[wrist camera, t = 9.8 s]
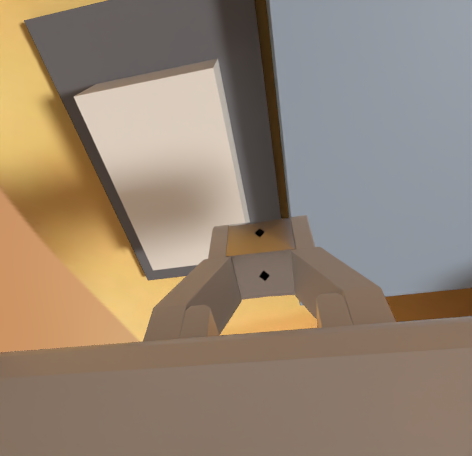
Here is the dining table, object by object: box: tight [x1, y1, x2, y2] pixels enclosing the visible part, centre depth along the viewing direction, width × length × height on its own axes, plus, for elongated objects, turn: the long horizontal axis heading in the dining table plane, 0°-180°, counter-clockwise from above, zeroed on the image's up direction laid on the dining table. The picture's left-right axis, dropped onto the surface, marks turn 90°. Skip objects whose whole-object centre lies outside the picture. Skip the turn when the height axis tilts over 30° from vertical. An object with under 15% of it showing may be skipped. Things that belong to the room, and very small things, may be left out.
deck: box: [266, 0, 472, 305], centre depth 15 cm, size 20×16×2 cm
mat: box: [24, 0, 281, 280], centre depth 18 cm, size 16×10×1 cm, turn 10°
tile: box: [74, 59, 250, 270], centre depth 17 cm, size 10×6×2 cm, turn 11°
